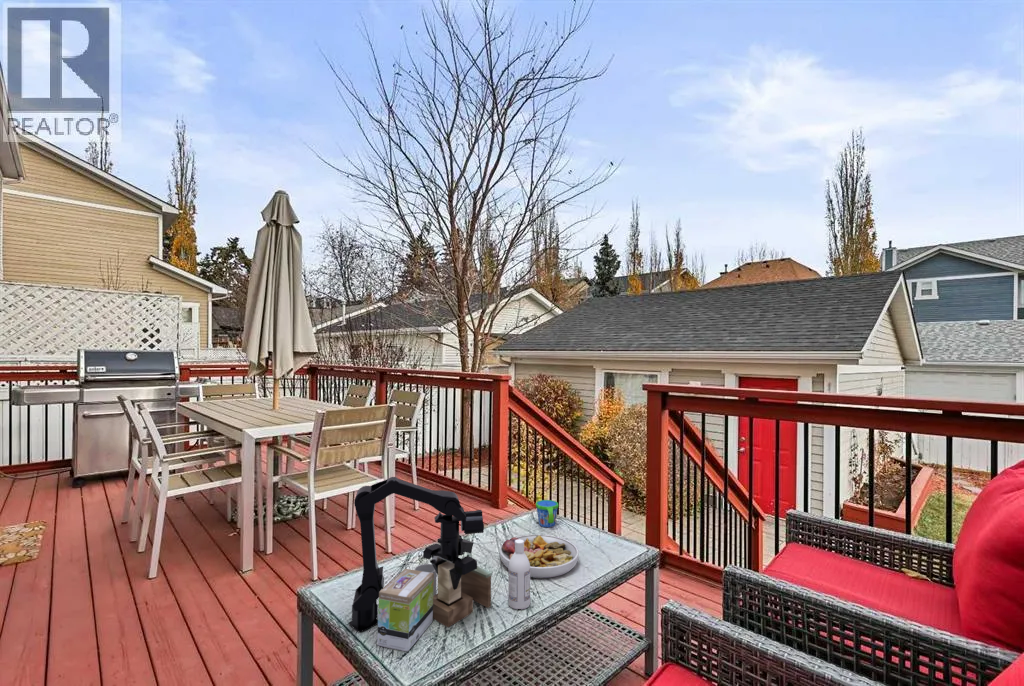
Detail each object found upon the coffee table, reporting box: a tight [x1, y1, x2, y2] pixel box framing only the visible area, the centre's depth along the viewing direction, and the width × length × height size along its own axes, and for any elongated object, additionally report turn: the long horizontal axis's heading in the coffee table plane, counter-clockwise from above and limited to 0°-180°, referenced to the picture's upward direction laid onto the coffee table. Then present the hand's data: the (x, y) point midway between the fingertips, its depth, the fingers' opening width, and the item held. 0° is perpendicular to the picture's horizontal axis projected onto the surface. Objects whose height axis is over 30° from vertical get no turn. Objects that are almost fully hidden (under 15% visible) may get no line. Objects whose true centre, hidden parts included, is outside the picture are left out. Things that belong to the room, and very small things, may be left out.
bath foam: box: [507, 539, 531, 610], centre depth 146 cm, size 7×7×20 cm
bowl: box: [499, 534, 579, 579], centre depth 176 cm, size 30×30×8 cm
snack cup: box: [535, 499, 559, 528], centre depth 214 cm, size 16×10×10 cm
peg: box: [437, 561, 461, 604], centre depth 141 cm, size 5×5×10 cm
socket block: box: [433, 565, 493, 628], centre depth 143 cm, size 16×15×11 cm
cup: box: [413, 563, 437, 596], centre depth 152 cm, size 7×10×9 cm
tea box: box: [376, 568, 434, 652], centre depth 131 cm, size 15×10×15 cm
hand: (449, 586), depth 141 cm, fingers closed on peg, 5 cm apart
